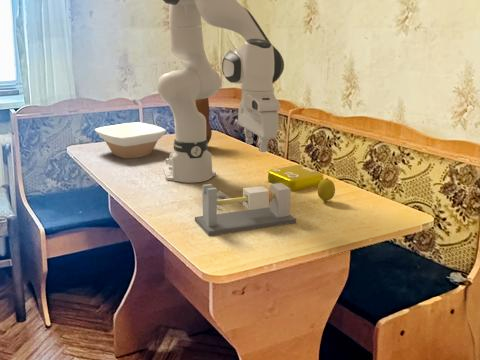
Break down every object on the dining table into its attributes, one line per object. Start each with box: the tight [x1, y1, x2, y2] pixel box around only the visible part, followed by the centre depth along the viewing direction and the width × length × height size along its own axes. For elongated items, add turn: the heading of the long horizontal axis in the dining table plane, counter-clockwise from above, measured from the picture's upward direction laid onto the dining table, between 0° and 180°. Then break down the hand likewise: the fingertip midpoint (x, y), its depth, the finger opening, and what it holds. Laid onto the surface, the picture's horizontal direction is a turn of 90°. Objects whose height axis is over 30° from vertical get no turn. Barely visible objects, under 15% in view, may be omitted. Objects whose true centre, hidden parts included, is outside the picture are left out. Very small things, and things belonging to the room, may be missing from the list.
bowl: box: [94, 121, 167, 160], centre depth 243 cm, size 24×25×11 cm
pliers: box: [217, 190, 243, 211], centre depth 189 cm, size 10×2×15 cm
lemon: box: [316, 177, 336, 203], centre depth 188 cm, size 6×6×8 cm
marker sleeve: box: [242, 185, 270, 210], centre depth 170 cm, size 5×6×5 cm
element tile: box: [267, 164, 324, 192], centre depth 208 cm, size 15×15×5 cm
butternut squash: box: [195, 97, 213, 144], centre depth 250 cm, size 14×13×25 cm
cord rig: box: [194, 183, 297, 237], centre depth 169 cm, size 12×27×12 cm, turn 112°
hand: (255, 147), depth 168 cm, fingers open, 8 cm apart
